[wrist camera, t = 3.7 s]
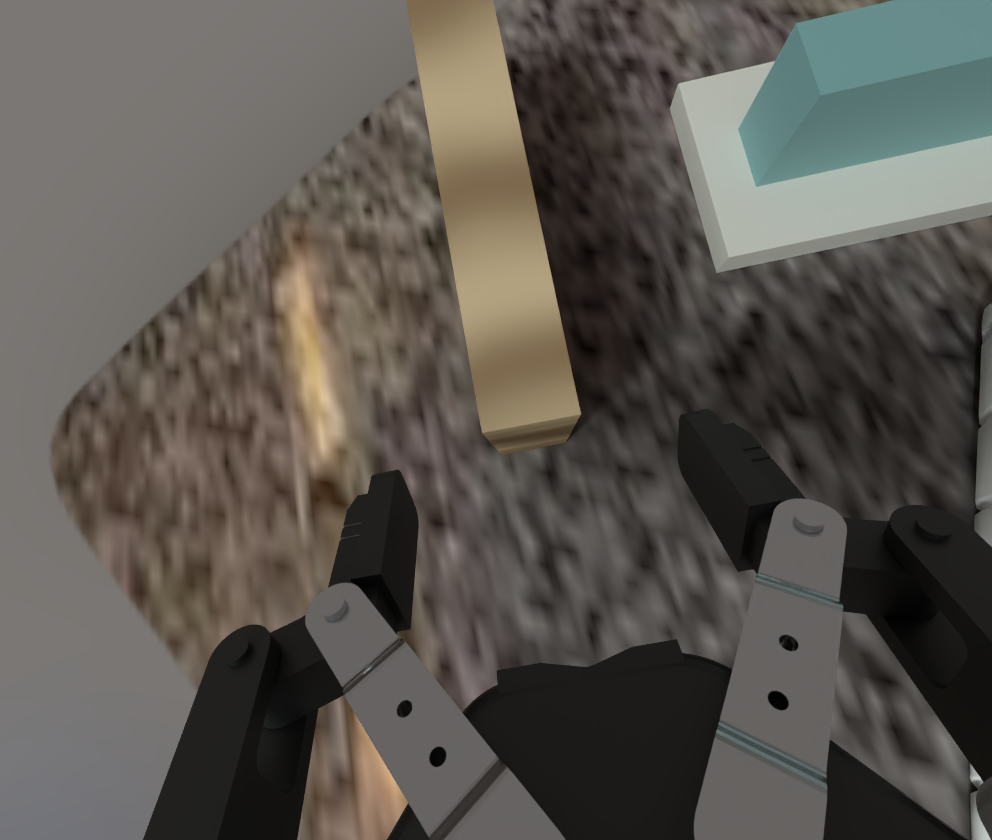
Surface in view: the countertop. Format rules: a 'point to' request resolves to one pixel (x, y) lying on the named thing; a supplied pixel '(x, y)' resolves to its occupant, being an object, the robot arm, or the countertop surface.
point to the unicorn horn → (983, 500)
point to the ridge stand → (844, 133)
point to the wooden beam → (493, 228)
